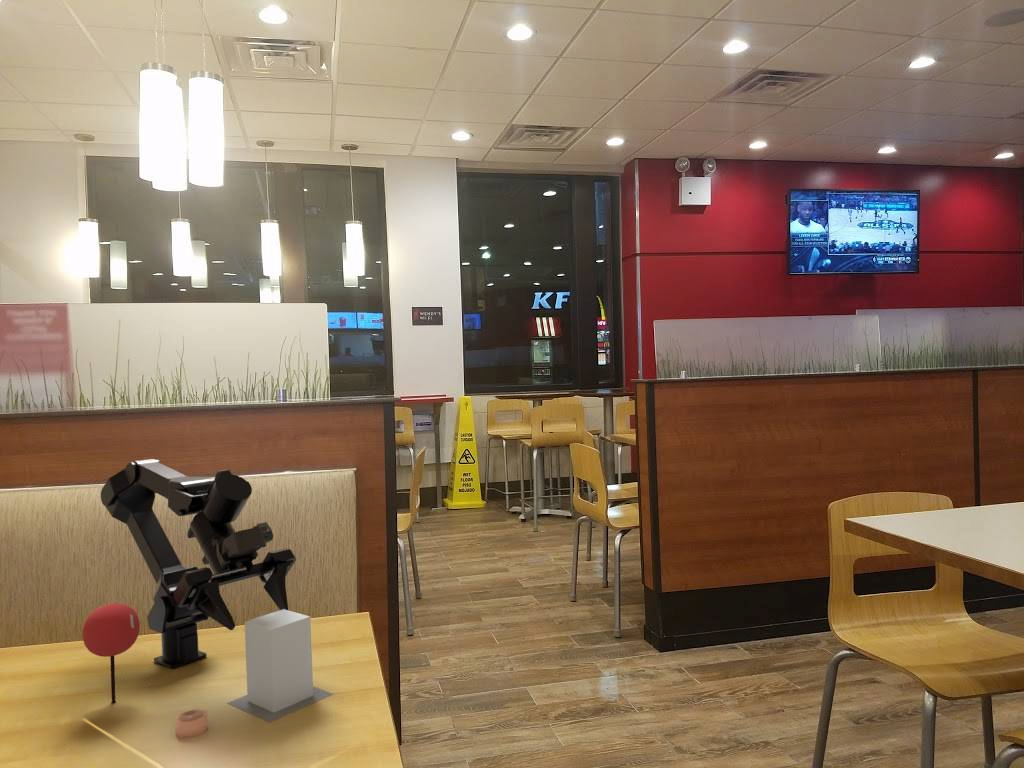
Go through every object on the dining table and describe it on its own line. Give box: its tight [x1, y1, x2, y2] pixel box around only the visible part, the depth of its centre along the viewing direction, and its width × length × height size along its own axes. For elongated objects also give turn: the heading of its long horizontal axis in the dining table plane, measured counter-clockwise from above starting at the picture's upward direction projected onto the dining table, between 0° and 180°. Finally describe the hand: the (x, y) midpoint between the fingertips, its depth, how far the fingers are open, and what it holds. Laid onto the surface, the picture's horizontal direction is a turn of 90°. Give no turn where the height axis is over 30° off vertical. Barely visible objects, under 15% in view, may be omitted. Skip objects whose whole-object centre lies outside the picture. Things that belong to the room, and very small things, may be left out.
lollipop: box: [82, 602, 141, 704], centre depth 111 cm, size 8×8×15 cm
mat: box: [227, 685, 334, 723], centre depth 110 cm, size 11×11×1 cm
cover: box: [244, 609, 314, 713], centre depth 110 cm, size 7×7×12 cm
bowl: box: [175, 709, 209, 739], centre depth 100 cm, size 4×4×3 cm
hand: (260, 619), depth 113 cm, fingers open, 9 cm apart
